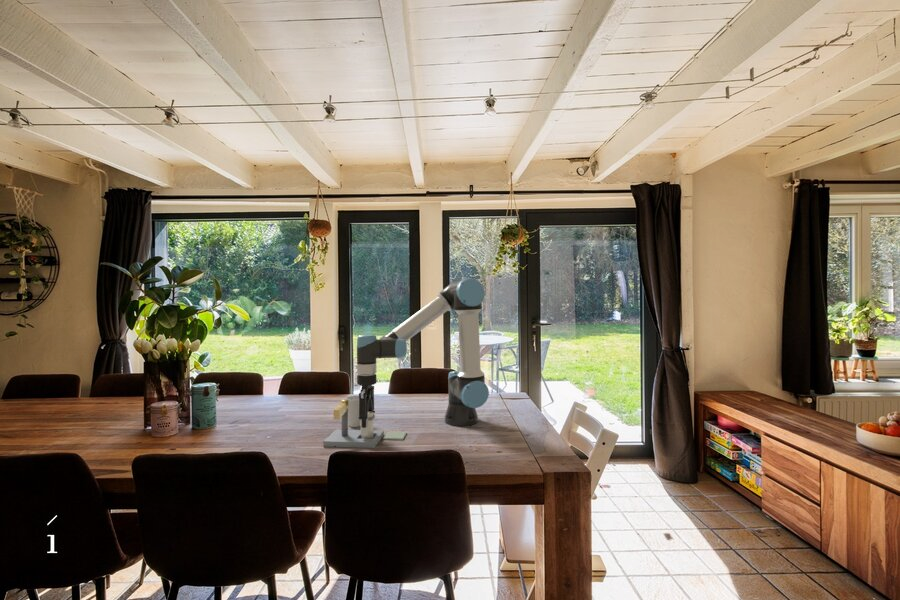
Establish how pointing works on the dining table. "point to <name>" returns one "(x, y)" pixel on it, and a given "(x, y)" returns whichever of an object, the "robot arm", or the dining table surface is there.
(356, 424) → the cup
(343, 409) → the clip
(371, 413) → the cream banded cylinder
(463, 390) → the robot arm
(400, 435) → the mat
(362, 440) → the socket board
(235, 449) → the dining table surface
